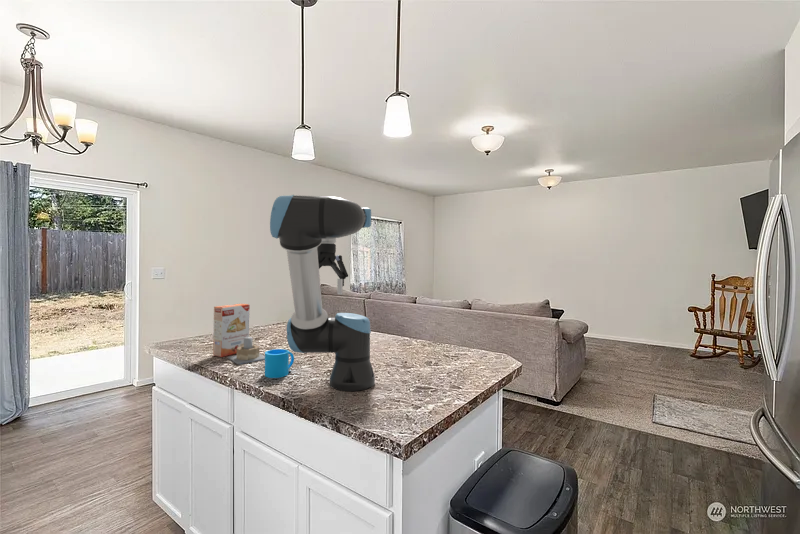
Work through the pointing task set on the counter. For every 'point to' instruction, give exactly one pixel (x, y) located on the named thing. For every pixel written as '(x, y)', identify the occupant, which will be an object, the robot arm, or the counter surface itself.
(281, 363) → the mug
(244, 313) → the cracker box
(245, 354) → the ring
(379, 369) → the counter surface
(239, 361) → the post plate
